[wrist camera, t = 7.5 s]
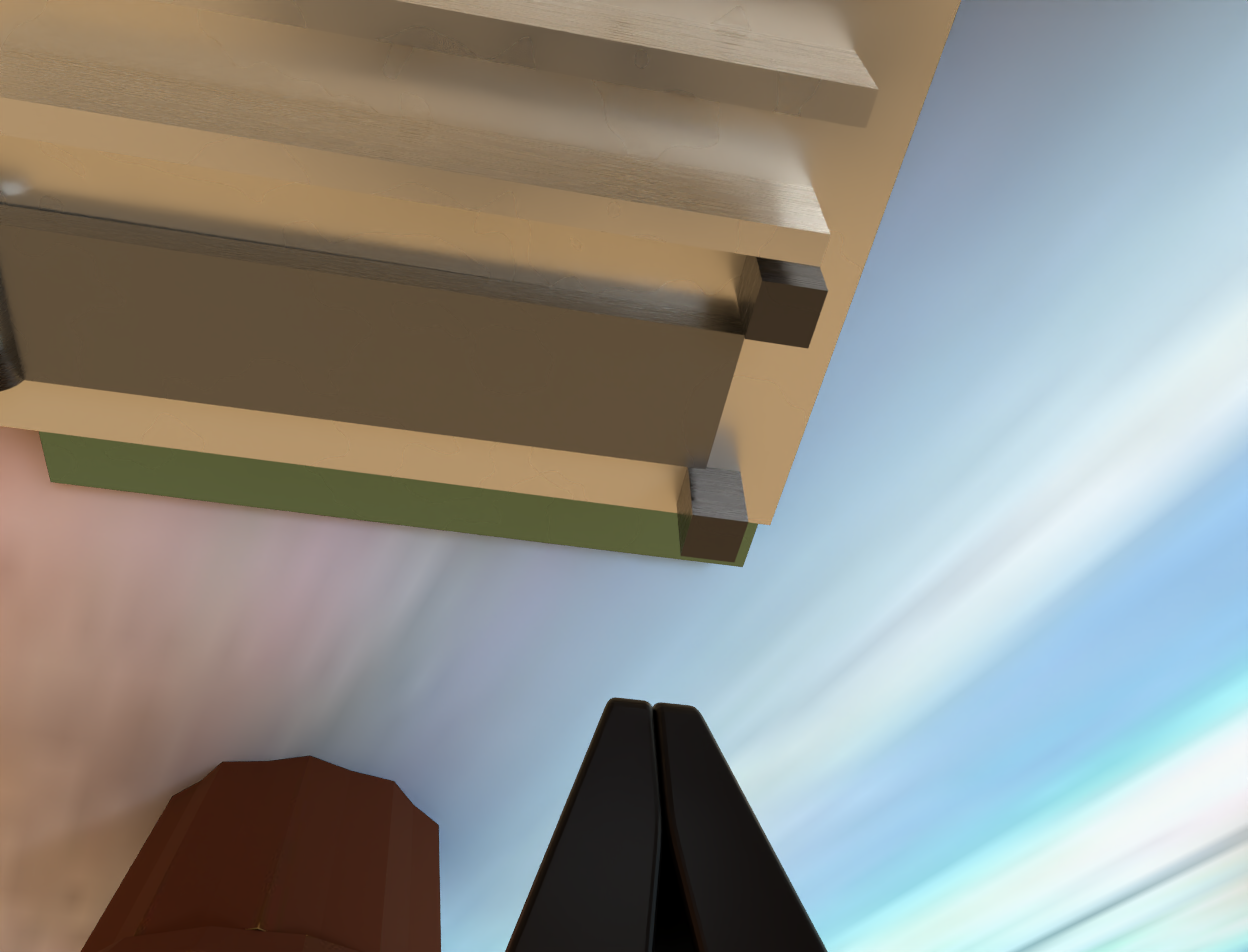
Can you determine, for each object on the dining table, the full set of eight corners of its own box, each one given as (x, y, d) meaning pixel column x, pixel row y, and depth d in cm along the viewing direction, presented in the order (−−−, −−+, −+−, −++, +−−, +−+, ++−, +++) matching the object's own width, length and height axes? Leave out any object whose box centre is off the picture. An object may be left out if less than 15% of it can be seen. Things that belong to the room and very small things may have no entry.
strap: (-30, 350, 17) (-64, 388, 16) (-73, 193, 15) (-113, 225, 14) (702, 448, 18) (707, 487, 17) (741, 316, 16) (748, 352, 16)
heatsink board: (1264, -1001, 11) (1702, -1443, 6) (738, 539, 25) (765, 722, 21) (-366, -1551, 9) (-1293, -2703, 5) (69, 454, 23) (-55, 637, 19)
